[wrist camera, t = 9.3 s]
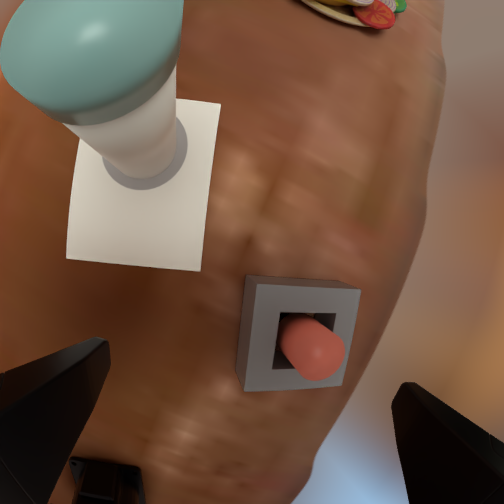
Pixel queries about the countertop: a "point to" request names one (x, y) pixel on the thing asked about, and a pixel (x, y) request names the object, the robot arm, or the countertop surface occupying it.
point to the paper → (146, 201)
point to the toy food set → (360, 11)
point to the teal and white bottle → (102, 74)
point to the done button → (310, 346)
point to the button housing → (266, 326)
